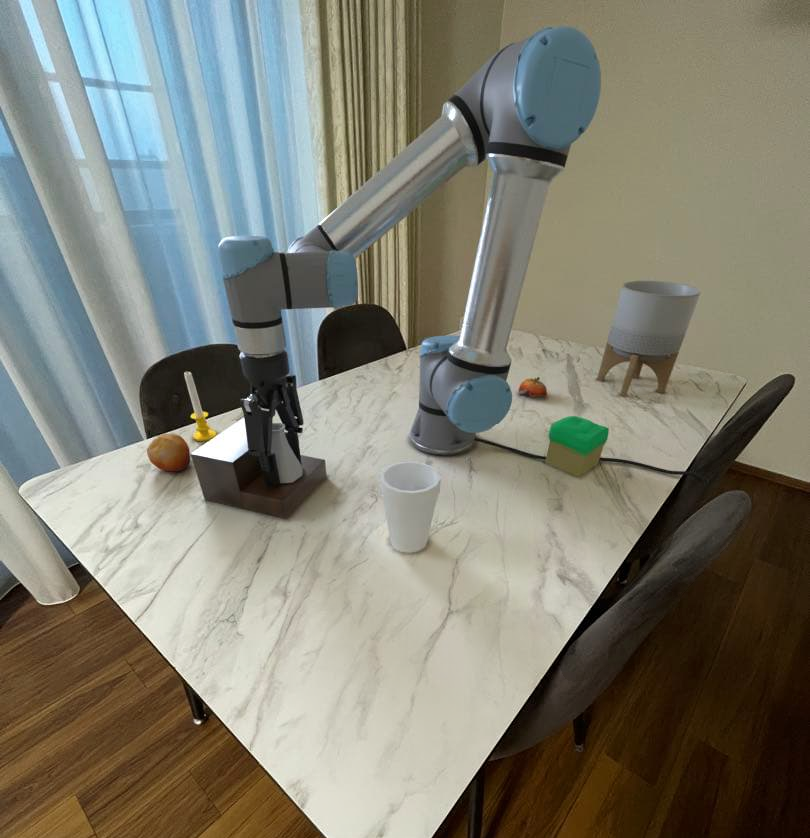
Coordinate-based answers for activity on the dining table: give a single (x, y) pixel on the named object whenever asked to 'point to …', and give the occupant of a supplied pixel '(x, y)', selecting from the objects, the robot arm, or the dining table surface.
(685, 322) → the planter
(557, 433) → the cake
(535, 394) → the tomato
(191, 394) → the candle
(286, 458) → the flask
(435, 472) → the foam cup
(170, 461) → the fruit
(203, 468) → the spice riser
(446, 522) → the dining table surface
